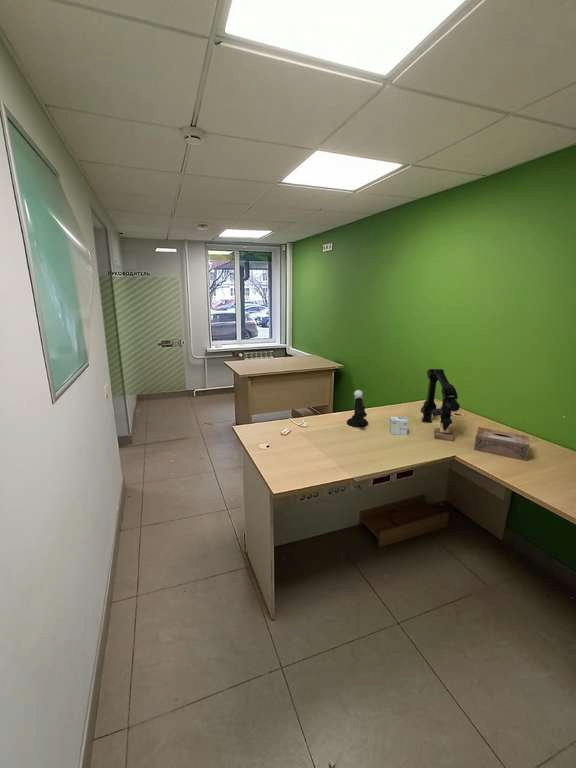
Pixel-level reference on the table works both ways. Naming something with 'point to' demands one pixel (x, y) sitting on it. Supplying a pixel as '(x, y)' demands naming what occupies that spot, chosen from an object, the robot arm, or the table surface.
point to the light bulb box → (398, 425)
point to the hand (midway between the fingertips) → (444, 428)
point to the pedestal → (443, 435)
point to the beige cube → (443, 429)
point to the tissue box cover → (502, 443)
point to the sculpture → (358, 412)
